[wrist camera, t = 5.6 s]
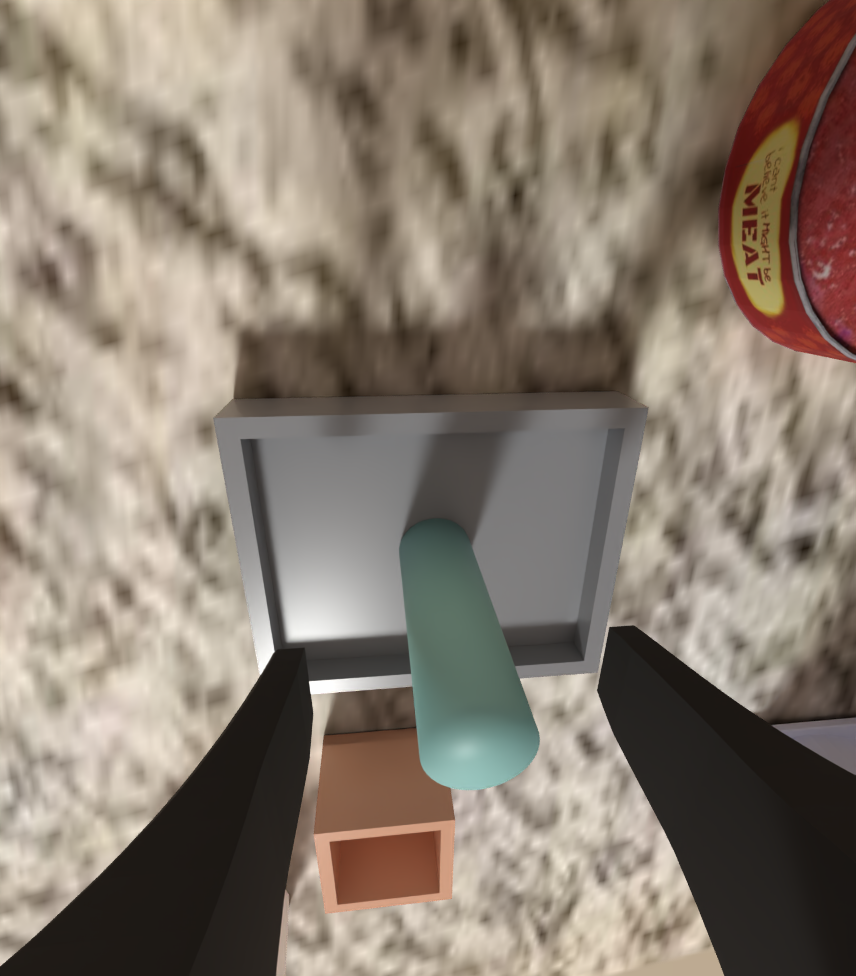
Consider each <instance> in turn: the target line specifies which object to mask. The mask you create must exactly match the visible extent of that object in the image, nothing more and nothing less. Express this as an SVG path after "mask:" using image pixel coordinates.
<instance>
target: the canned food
mask: <svg viewBox="0 0 856 976" xmlns="http://www.w3.org/2000/svg"><path fill="white" fill-rule="evenodd" d="M718 246H719V251H720V257H721V262H722V267H723V272H724V277H725V280H726V282H727V285H728V287H729V289H730V292H731V294H732V296H733V299H734V301H735V303H736V305H737V306H738V308H739V309H740V310H741V312H742V313H743V314H744V316H745V317H746V318H747V320H748V321H749V322H750V324H751V325H752V326H753V327H754V328H756V329H757V330H758V331H759V332H761V333H762V334H763V335H765V336H766V337H767V338H768V339H770V340H771V341H772V342H775V343H777V344H780V345H782V346H784V347H787V348H789V349H792V350H794V351H798V352H804V353H809V354H814V355H819V356H824V357H829V358H834V359H838V360H843V361H848V362H853V363H856V0H829V1H828V2H827V3H826V4H824V5H823V6H822V7H821V8H819V9H818V10H817V11H816V12H815V13H814V14H813V16H812V17H811V18H810V19H809V20H808V21H807V22H806V23H805V24H804V26H803V27H802V28H801V29H800V30H799V31H798V32H797V33H796V34H795V36H794V37H793V38H792V39H791V40H790V41H789V42H788V43H787V44H786V45H785V47H784V48H783V50H782V51H781V53H780V54H779V56H778V57H777V59H776V60H775V62H774V63H773V65H772V66H771V68H770V69H769V71H768V72H767V74H766V75H765V77H764V78H763V80H762V81H761V83H760V84H759V86H758V88H757V90H756V92H755V94H754V96H753V98H752V100H751V102H750V104H749V106H748V108H747V110H746V112H745V114H744V117H743V119H742V121H741V123H740V125H739V127H738V130H737V133H736V136H735V139H734V142H733V145H732V148H731V151H730V155H729V158H728V161H727V164H726V167H725V171H724V177H723V183H722V189H721V195H720V201H719V208H718Z"/></svg>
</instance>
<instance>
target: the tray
mask: <svg viewBox="0 0 856 976" xmlns="http://www.w3.org/2000/svg"><path fill="white" fill-rule="evenodd" d="M648 408H649V407H647V406H645V405H643V404H641V403H639V402H637V401H635V400H633V399H631V398H629V397H628V396H626V395H624V394H622V393H620V392H618V391H598V392H550V393H502V394H454V395H406V396H358V397H310V398H262V399H232V400H231V401H230V402H229V403H228V404H227V405H226V406H225V407H224V408H223V409H222V410H221V411H220V412H219V413H218V414H217V415H216V416H215V417H214V418H213V419H214V425H215V430H216V436H217V441H218V447H219V452H220V458H221V463H222V469H223V474H224V480H225V485H226V491H227V497H228V502H229V508H230V513H231V519H232V524H233V530H234V535H235V541H236V546H237V552H238V557H239V563H240V568H241V574H242V579H243V585H244V590H245V596H246V601H247V607H248V612H249V618H250V623H251V629H252V634H253V640H254V646H255V651H256V657H257V662H258V668H259V673H260V675H261V674H262V672H263V670H264V669H265V667H266V665H267V664H268V662H269V660H270V658H271V656H272V655H273V653H274V652H275V651H276V650H277V649H290V648H305V653H306V660H307V668H308V676H309V684H310V692H311V694H321V693H334V692H347V691H360V690H374V689H387V688H400V687H412V677H411V667H410V657H409V647H408V637H407V627H406V617H405V607H404V597H403V587H402V577H401V568H400V558H399V546H400V542H401V540H402V538H403V536H404V535H405V533H406V532H407V531H408V530H409V529H410V528H411V527H412V526H414V525H415V524H417V523H419V522H421V521H424V520H427V519H433V518H441V519H447V520H450V521H453V522H455V523H456V524H458V525H459V526H461V527H462V528H463V529H464V531H465V532H466V534H467V535H468V538H469V540H470V543H471V546H472V549H473V551H474V554H475V557H476V560H477V563H478V565H479V568H480V571H481V574H482V576H483V579H484V582H485V585H486V588H487V590H488V593H489V596H490V599H491V601H492V604H493V607H494V610H495V612H496V615H497V618H498V621H499V624H500V626H501V629H502V632H503V635H504V637H505V640H506V643H507V646H508V648H509V651H510V654H511V657H512V660H513V662H514V665H515V668H516V671H517V673H518V676H519V678H531V677H544V676H558V675H571V674H584V673H597V672H598V668H599V662H600V657H601V652H602V647H603V642H604V636H605V631H606V626H607V621H608V616H609V611H610V605H611V600H612V595H613V590H614V585H615V579H616V574H617V569H618V564H619V559H620V553H621V548H622V543H623V538H624V533H625V527H626V522H627V517H628V512H629V507H630V501H631V496H632V491H633V486H634V481H635V475H636V470H637V465H638V460H639V455H640V449H641V444H642V439H643V434H644V429H645V423H646V418H647V413H648Z"/></svg>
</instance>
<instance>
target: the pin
mask: <svg viewBox="0 0 856 976" xmlns="http://www.w3.org/2000/svg"><path fill="white" fill-rule="evenodd" d="M399 558H400V568H401V577H402V587H403V597H404V607H405V617H406V627H407V637H408V647H409V657H410V667H411V677H412V687H413V697H414V707H415V717H416V727H417V736H418V746H419V756H420V762H421V766H422V768H423V770H424V771H425V772H426V774H427V775H428V776H429V777H430V778H431V779H433V780H434V781H436V782H437V783H439V784H441V785H443V786H446V787H449V788H454V789H460V790H479V789H485V788H489V787H493V786H496V785H499V784H502V783H504V782H507V781H508V780H510V779H512V778H514V777H515V776H517V775H518V774H520V773H521V772H522V771H523V770H525V769H526V768H527V767H528V765H529V764H530V763H531V762H532V760H533V759H534V757H535V755H536V753H537V751H538V748H539V742H540V737H539V732H538V729H537V726H536V723H535V721H534V718H533V715H532V712H531V709H530V707H529V704H528V701H527V698H526V696H525V693H524V690H523V687H522V684H521V682H520V679H519V676H518V673H517V671H516V668H515V665H514V662H513V660H512V657H511V654H510V651H509V648H508V646H507V643H506V640H505V637H504V635H503V632H502V629H501V626H500V624H499V621H498V618H497V615H496V612H495V610H494V607H493V604H492V601H491V599H490V596H489V593H488V590H487V588H486V585H485V582H484V579H483V576H482V574H481V571H480V568H479V565H478V563H477V560H476V557H475V554H474V551H473V549H472V546H471V543H470V540H469V538H468V535H467V534H466V532H465V531H464V529H463V528H462V527H461V526H459V525H458V524H456V523H455V522H453V521H450V520H447V519H441V518H433V519H427V520H424V521H421V522H419V523H417V524H415V525H414V526H412V527H411V528H410V529H409V530H408V531H407V532H406V533H405V535H404V536H403V538H402V540H401V542H400V546H399Z"/></svg>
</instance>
